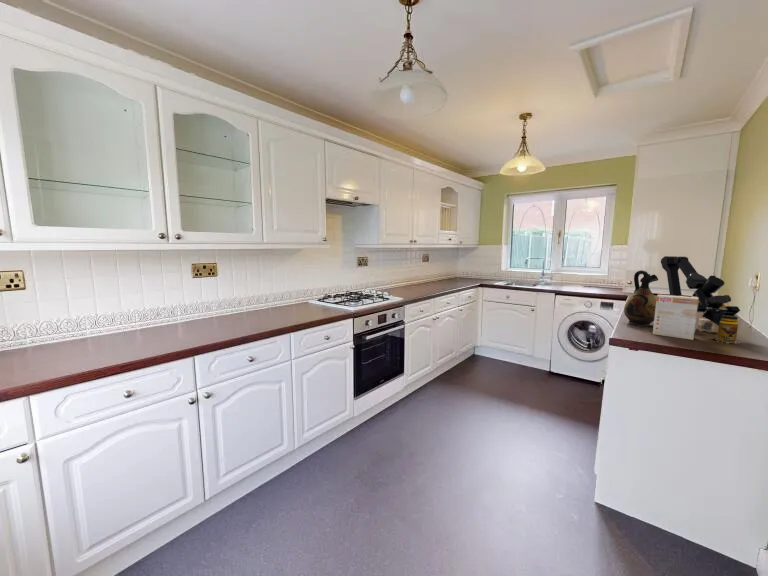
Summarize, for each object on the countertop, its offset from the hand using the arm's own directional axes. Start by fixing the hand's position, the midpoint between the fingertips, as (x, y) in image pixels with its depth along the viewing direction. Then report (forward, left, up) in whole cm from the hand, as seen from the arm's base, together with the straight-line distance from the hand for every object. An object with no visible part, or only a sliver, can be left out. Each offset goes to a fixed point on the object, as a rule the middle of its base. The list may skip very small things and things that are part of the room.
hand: (720, 325), depth 156 cm
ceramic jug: (-33, +11, -7) cm, 35 cm away
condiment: (+2, -2, -7) cm, 7 cm away
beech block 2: (-6, +18, -7) cm, 20 cm away
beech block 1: (-12, +10, -7) cm, 17 cm away
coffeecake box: (-16, -9, -7) cm, 19 cm away
